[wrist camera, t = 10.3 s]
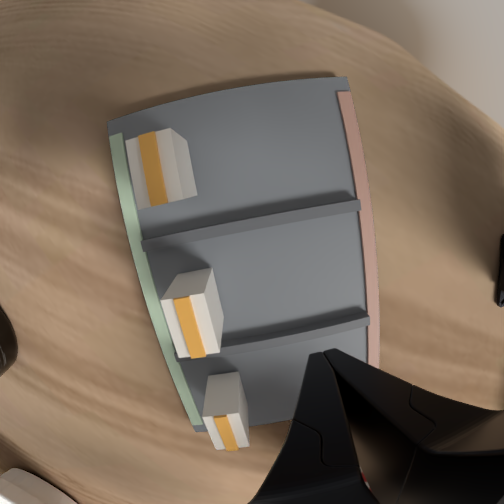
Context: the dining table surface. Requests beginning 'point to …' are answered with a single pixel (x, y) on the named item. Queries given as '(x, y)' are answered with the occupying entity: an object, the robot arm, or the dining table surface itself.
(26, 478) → the bowl
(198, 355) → the block
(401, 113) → the dining table surface
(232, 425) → the block
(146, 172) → the block
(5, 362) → the supplement bottle
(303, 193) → the panel
